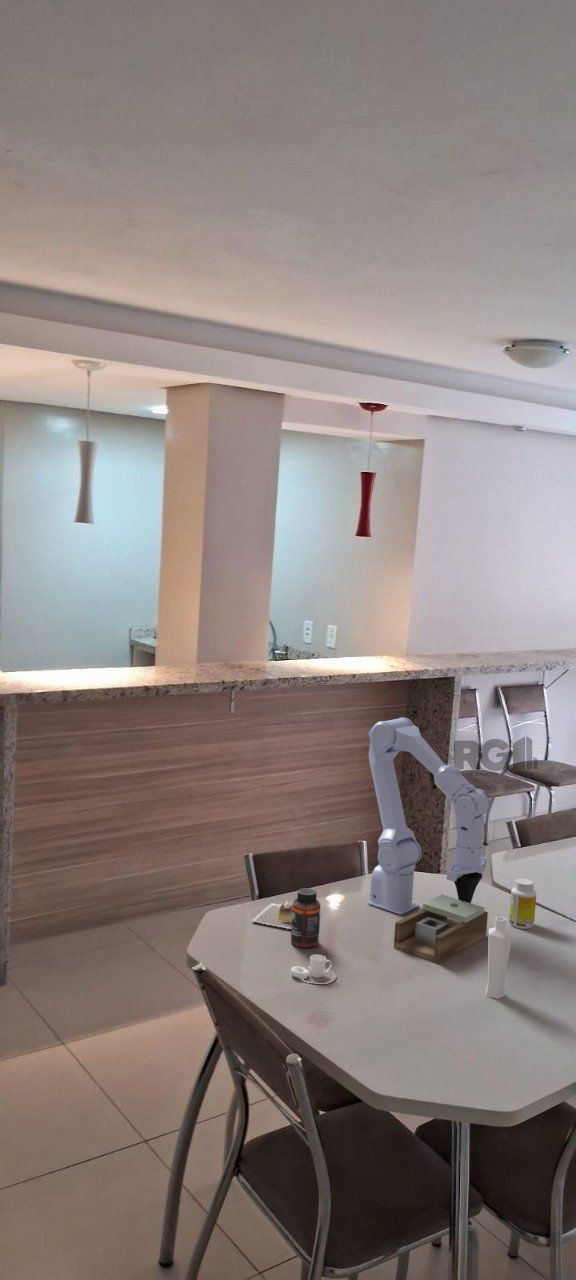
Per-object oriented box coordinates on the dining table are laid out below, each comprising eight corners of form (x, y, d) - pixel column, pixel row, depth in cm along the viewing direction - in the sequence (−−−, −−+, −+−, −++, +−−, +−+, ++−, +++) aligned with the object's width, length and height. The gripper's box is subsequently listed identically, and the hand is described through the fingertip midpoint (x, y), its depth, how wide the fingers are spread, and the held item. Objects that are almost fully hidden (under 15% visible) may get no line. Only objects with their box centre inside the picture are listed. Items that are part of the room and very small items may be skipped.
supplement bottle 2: (538, 926, 227) (542, 883, 225) (523, 931, 223) (527, 887, 222) (518, 918, 231) (522, 875, 230) (503, 923, 227) (507, 879, 226)
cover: (422, 909, 218) (423, 902, 218) (441, 899, 224) (442, 893, 224) (465, 923, 211) (466, 916, 211) (483, 913, 218) (484, 906, 217)
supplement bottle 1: (323, 942, 211) (326, 890, 210) (309, 951, 206) (312, 898, 205) (299, 934, 214) (302, 884, 213) (285, 943, 209) (287, 891, 208)
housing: (393, 947, 211) (395, 922, 210) (442, 921, 226) (444, 898, 226) (438, 963, 204) (440, 937, 203) (486, 936, 219) (487, 912, 219)
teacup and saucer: (286, 981, 193) (287, 960, 193) (300, 965, 201) (301, 945, 200) (329, 990, 190) (330, 970, 190) (342, 974, 198) (343, 954, 197)
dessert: (271, 907, 231) (272, 887, 230) (320, 917, 227) (321, 896, 226) (250, 925, 220) (251, 904, 219) (302, 936, 215) (303, 914, 215)
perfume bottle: (490, 986, 195) (496, 912, 193) (510, 994, 192) (516, 919, 190) (477, 992, 192) (483, 917, 190) (496, 1001, 188) (502, 925, 187)
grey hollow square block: (414, 941, 212) (415, 923, 211) (426, 934, 215) (428, 916, 215) (434, 948, 208) (436, 929, 208) (447, 941, 212) (448, 923, 212)
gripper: (469, 856, 212) (464, 918, 214) (500, 842, 223) (496, 901, 225) (440, 848, 216) (435, 909, 218) (472, 835, 228) (468, 892, 229)
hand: (464, 904), depth 222 cm, fingers closed
